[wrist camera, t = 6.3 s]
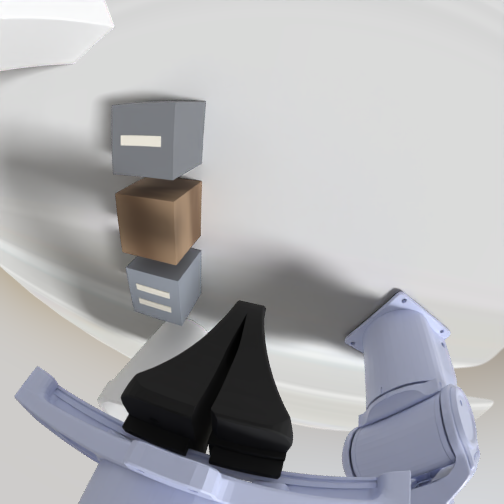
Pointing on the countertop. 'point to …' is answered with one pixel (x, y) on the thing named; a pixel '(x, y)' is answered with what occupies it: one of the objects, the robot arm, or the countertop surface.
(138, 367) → the foam cup
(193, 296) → the slate block
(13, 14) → the milk
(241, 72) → the countertop surface
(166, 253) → the walnut block
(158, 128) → the charcoal block
